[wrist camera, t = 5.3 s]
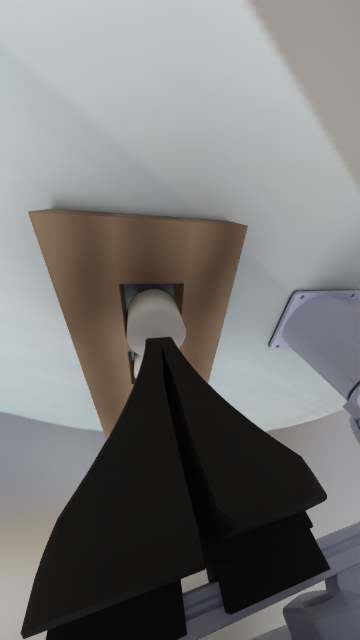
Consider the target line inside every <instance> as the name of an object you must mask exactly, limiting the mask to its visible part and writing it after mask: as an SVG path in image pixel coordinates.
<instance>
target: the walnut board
mask: <svg viewBox="0 0 360 640" xmlns="http://www.w3.org/2000/svg"><path fill="white" fill-rule="evenodd" d="M28 213H29V216H30V219H31V222H32V225H33V228H34V231H35V234H36V236H37V239H38V242H39V245H40V248H41V251H42V254H43V257H44V260H45V263H46V265H47V268H48V271H49V274H50V277H51V280H52V283H53V286H54V289H55V292H56V294H57V297H58V300H59V303H60V306H61V309H62V312H63V315H64V318H65V320H66V323H67V326H68V329H69V332H70V335H71V338H72V341H73V344H74V347H75V349H76V352H77V355H78V358H79V361H80V364H81V367H82V370H83V373H84V376H85V378H86V381H87V384H88V387H89V390H90V393H91V396H92V399H93V402H94V405H95V407H96V410H97V413H98V416H99V419H100V422H101V425H102V428H103V431H104V433H105V436H106V438H108V437H109V435H110V433H111V432H112V430H113V428H114V426H115V424H116V422H117V420H118V418H119V416H120V414H121V412H122V410H123V408H124V406H125V404H126V402H127V400H128V398H129V395H130V393H131V391H132V388H133V386H134V383H135V380H136V378H135V376H134V362H132V357H131V351H133V350H132V349H131V348H130V346H129V345H128V342H127V322H128V316H127V313H126V304H125V295H124V286H123V284H172V283H175V298H174V300H175V302H176V305H177V307H178V310H179V312H180V315H181V317H182V320H183V323H184V325H185V328H186V337H185V340H184V342H183V344H182V345H181V346H180V347H179V350H180V351H181V352H182V354H183V355H184V356H185V358H186V359H187V360H188V361H189V363H190V364H191V365H192V367H193V368H194V369H195V370H196V371H197V372H198V373H199V375H200V376H201V377H202V378H203V379H204V380H205V381H206V382H207V383H208V381H209V377H210V373H211V369H212V365H213V361H214V358H215V354H216V350H217V346H218V342H219V338H220V334H221V330H222V326H223V322H224V318H225V314H226V310H227V306H228V302H229V298H230V294H231V290H232V286H233V282H234V278H235V274H236V270H237V266H238V262H239V258H240V254H241V250H242V246H243V242H244V238H245V234H246V230H247V227H248V226H246V225H242V224H238V223H233V222H229V221H218V220H204V219H189V218H175V217H160V216H146V215H131V214H116V213H102V212H87V211H73V210H58V209H47V210H38V211H30V212H28Z"/></svg>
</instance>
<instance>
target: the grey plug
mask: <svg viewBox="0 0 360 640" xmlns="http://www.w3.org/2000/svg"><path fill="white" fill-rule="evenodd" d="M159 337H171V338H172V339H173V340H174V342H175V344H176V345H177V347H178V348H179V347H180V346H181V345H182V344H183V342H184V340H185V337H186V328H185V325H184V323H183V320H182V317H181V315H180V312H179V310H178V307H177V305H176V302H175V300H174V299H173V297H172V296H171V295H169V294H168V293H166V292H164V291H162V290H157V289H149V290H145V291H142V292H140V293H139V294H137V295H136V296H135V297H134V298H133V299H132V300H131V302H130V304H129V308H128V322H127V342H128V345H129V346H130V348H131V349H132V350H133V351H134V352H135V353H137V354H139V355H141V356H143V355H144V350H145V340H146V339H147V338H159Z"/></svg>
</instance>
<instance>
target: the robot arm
mask: <svg viewBox="0 0 360 640" xmlns="http://www.w3.org/2000/svg"><path fill="white" fill-rule="evenodd" d="M359 299H360V290H337V291H299V292H295V293H294V294H293V295H292V297H291V300H290V302H289V304H288V306H287V308H286V310H285V312H284V315H283V317H282V319H281V321H280V323H279V325H278V327H277V330H276V332H275V334H274V336H273V338H272V340H271V342H270V345H269V347H270V348H271V349H280V348H289V347H291V348H292V349H293V350H294V351H295V352H296V353H297V354H298V355H299V356H301V357H302V358H303V359H304V360H305V361H306V362H307V363H308V364H309V365H310V366H311V367H312V368H313V369H314V370H315V371H316V372H317V373H318V374H320V375H321V376H322V377H323V378H324V379H325V380H326V381H327V382H328V383H329V384H330V385H331V386H332V387H333V388H334V389H335V390H336V391H338V392H339V393H340V394H341V395H342V396H343V397H344V398H345V399H346V400H347V401H348V402H347V403H346V404H345V405H344V406H343V407H344V408H345V409H346V410H347V411H348V412H349V413H350V414H351V417H350V425H351V428H352V431H353V433H354V435H355V437H356V439H357V441H358V443H359V444H360V300H359ZM326 499H327V494H326V492H325V491H324V490H323V488H322V486H321V485H320V483H319V482H318V480H317V479H316V477H315V476H314V474H313V472H312V471H311V469H310V468H309V467H308V465H307V464H306V463H305V461H304V460H303V458H302V457H301V456H299V455H298V454H296V453H295V452H294V451H292V450H291V449H289V448H288V447H286V446H285V445H283V444H282V443H280V442H279V441H277V440H276V439H274V438H273V437H271V436H270V435H268V434H267V433H266V432H264V431H263V430H262V429H260V428H259V427H258V426H256V425H255V424H254V423H252V422H251V421H250V420H249V419H247V418H246V417H245V416H244V415H242V414H241V413H240V412H239V411H237V410H236V409H235V408H234V407H233V406H231V405H230V404H229V403H228V402H227V401H226V400H225V399H223V398H222V397H221V396H220V395H219V394H218V393H217V392H216V391H215V390H214V389H213V388H212V387H211V386H210V385H209V384H208V383H207V382H206V381H205V380H204V379H203V378H202V377H201V376H200V375H199V373H198V372H197V371H196V370H195V369H194V368H193V367H192V365H191V364H190V363H189V361H188V360H187V359H186V358H185V356H184V355H183V354H182V352H181V351H180V350H179V348H178V347H177V345H176V344H175V342H174V340H173V339H172V338H171V337H159V338H147V339H146V340H145V350H144V355H143V359H142V363H141V366H140V369H139V372H138V375H137V378H136V380H135V383H134V386H133V388H132V391H131V393H130V395H129V398H128V400H127V402H126V404H125V406H124V408H123V410H122V412H121V414H120V416H119V418H118V420H117V422H116V424H115V426H114V428H113V430H112V432H111V433H110V435H109V437H108V439H107V440H106V442H105V444H104V446H103V447H102V449H101V451H100V452H99V454H98V456H97V457H96V459H95V461H94V463H93V464H92V466H91V468H90V469H89V471H88V473H87V474H86V476H85V477H84V479H83V480H82V482H81V483H80V485H79V487H78V488H77V490H76V491H75V493H74V494H73V496H72V497H71V499H70V500H69V502H68V503H67V505H66V506H65V508H64V510H63V511H62V513H61V514H60V516H59V518H58V519H57V522H56V524H55V526H54V528H53V531H52V533H51V535H50V538H49V540H48V543H47V545H46V548H45V550H44V553H43V556H42V558H41V561H40V565H39V567H38V571H37V573H36V576H35V579H34V583H33V587H32V591H31V595H30V599H29V603H28V606H27V610H26V615H25V618H24V622H23V626H22V630H21V635H22V637H23V639H25V638H28V637H30V636H33V635H36V634H39V633H41V632H43V631H46V630H48V631H47V636H46V640H198V639H200V638H202V637H205V636H207V635H209V634H211V633H213V632H215V631H217V630H219V629H222V628H224V627H226V626H228V625H230V624H232V623H234V622H236V621H239V620H241V619H243V618H245V617H247V616H249V615H251V614H253V613H255V612H258V611H260V610H262V609H264V608H266V607H268V606H270V605H273V604H275V603H277V602H279V601H281V600H283V599H285V598H287V597H289V596H292V595H294V594H296V593H298V592H300V591H302V590H304V589H306V588H309V587H311V586H313V585H315V584H317V583H319V582H321V581H323V580H325V584H326V590H320V591H312V592H307V593H304V594H301V595H299V596H297V597H296V598H295V599H293V600H292V601H291V602H290V603H289V604H287V605H286V606H285V607H284V608H283V615H284V618H285V621H286V623H287V625H284V626H282V627H279V628H277V629H274V630H272V631H269V632H266V633H264V634H261V635H259V636H256V637H254V638H251V639H248V640H360V522H358V523H356V524H353V525H351V526H348V527H346V528H343V529H341V530H338V531H336V532H333V533H331V534H328V535H326V536H323V537H321V538H319V539H316V540H315V538H314V536H313V534H312V532H311V530H310V528H312V527H313V525H312V522H311V520H310V518H309V517H308V515H307V513H306V510H308V509H310V508H312V507H314V506H315V505H317V504H320V503H321V502H323V501H325V500H326ZM205 568H206V570H207V575H208V581H209V583H207V584H205V585H202V586H200V587H197V588H195V589H192V590H190V591H187V592H185V593H182V587H181V579H182V578H184V577H187V576H189V575H192V574H195V573H197V572H200V571H203V570H205Z"/></svg>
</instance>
